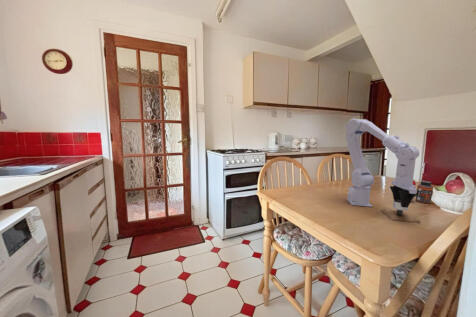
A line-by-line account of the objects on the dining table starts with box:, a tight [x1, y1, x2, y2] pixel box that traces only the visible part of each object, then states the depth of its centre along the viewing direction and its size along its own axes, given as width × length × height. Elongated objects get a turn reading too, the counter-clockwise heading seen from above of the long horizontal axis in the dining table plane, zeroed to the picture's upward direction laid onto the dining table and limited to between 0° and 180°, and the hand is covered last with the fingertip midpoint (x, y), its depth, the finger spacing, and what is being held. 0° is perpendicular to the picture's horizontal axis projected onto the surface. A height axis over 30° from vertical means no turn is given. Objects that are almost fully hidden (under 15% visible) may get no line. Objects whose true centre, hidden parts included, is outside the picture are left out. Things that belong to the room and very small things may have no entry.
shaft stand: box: [380, 209, 421, 224], centre depth 84 cm, size 10×10×5 cm
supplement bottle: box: [415, 180, 434, 205], centre depth 103 cm, size 6×6×11 cm
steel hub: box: [392, 199, 409, 212], centre depth 84 cm, size 5×5×3 cm
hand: (400, 204), depth 84 cm, fingers closed on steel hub, 5 cm apart
